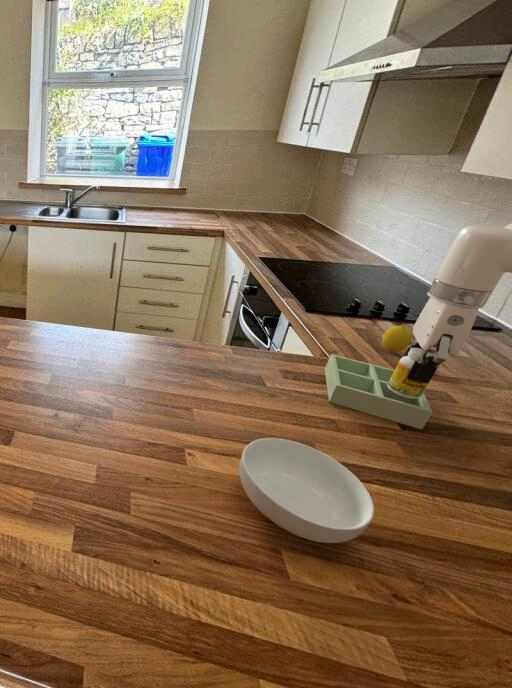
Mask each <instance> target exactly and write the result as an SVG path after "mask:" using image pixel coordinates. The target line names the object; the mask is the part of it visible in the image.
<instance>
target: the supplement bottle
mask: <svg viewBox="0 0 512 688" xmlns="http://www.w3.org/2000/svg"><path fill="white" fill-rule="evenodd" d="M410 348H411V349H410V351H409V353H408V356H404V355H403V356H404V357H403V356H402V357H401V358H400V359H399V361H398V363H397V364H396V367H395V369H394V370H395V371H394V372H393V374H392V376H391V378H390V380H389V382H388V384H387V386H388V388H389V389H390V390H391V391H392V392H394V393H396V394H398V395H400V396H403V397H406V398H412V399H415V398H419V397H421V395H422V394H423V393H424V392H425V391H426V389H427V388H428V385H429V383H422V382H418V381H414V380H410V379H408V378H407V375H408V373H409V371H410V369H411V367H412V366H413V364H414V362H415V361H418V359H419V357H420V354H421V352H422V349H420V348H412V347H410ZM433 355H434V353H429V352H428V353H427V356H426V357H428V356H433Z"/></svg>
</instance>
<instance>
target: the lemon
mask: <svg viewBox="0 0 512 688" xmlns="http://www.w3.org/2000/svg"><path fill="white" fill-rule="evenodd" d="M412 340H413V332H411V330H410V329H409V328H407V327H406V326H405V325H394V326H390V327H389V328H387V330H386V331H385V332H383V334H382V337H381V343H382V345H383V347H384V348H385V349H387V350H388V352H389V353H393V352H402V351H404V350H407V349H408V347H409V345H410V342H411V341H412Z"/></svg>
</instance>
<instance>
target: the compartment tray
mask: <svg viewBox="0 0 512 688" xmlns="http://www.w3.org/2000/svg"><path fill="white" fill-rule="evenodd" d="M394 371H395V369H393V368H388V367H385V366H381V365H376V364H373V363H369V362H365V361H360V360H356V359H353V358H349V357H346V356H345V357H344V356H341V355H336V354H333V353H330V356H329V358H328V360H327V363H326V365H325V367H324V375H325V383H326V389H327V390H326V391H327V397H328V402H329V403H332V404H335V405H339V406H341V407H345V408H348V409H351V410H355V411H358V412H362V413H365V414H369V415H372V416H375V417H379V418H382V419H384V420H388V421H392V422H395V423H398V424H401V425H406V426H408V427H412V428H415V429H418V430H423V429H424V427H425V425H426V424H427V422H428V421H429V419H430V418H431V416H432V415H433V413H434V412H433V410H432V408H431V405H430V403H429V402H428V399H427V397H426V395H425V393H424V392H423V394H422V395H421V397H419V398H415V399H412V398H406V397H403V396H400V395H398V394H396V393H394V392H392V391H391V390H390V389H389V388H388V386H387V384H388V382H389V380H390V378H391V376H392V374H393V372H394Z"/></svg>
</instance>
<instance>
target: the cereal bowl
mask: <svg viewBox="0 0 512 688" xmlns="http://www.w3.org/2000/svg"><path fill="white" fill-rule="evenodd" d="M238 467H239V470H238V473H239V479H240V481H241V482H240V484H241V485H242V488H243V490H244V492H245V494H246V495H247V498H248V499H249V500H250V502H251V503H252V504H253V505H254V506H255V507H256V508H257V509H258V511H260V513H261V514H263V516H264V517H266V518H267V519H268V520H269V521H271V522H272V523H274V524H275V525H277V526H278V527H280V528H281V529H283V530H284V531H286V532H288V533H291V534H293V535H295V536H297V537H300V538H302V539H306V540H308V541H312V542H317V543H323V544H324V543H325V544H340V543H345V542H348V541H351V540H353V539H355V538H357V537H359V536H360V535H361V534H363V533H364V532H365V531H366V530H367V528H368V527H369V526H370V524H371V523H372V521H373V519H374V515H375V506H374V502H373V499H372V496H371V495H370V493H369V491H368V490H367V488H366V487H365V485H364V484H363V483H362V482H361V481H360V479H359V478H358V477H357V476H356V475H355V474H354V473H353V472H352V471H351V470H349V469H348V468H347V467H346V466H345V465H344V464H342V463H341V462H339V461H338V460H336V459H334V458H333V457H331V456H329V455H328V454H326V453H324V452H322V451H321V450H318V449H316V448H314V447H311V446H309V445H307V444H304V443H301V442H297V441H294V440H290V439H285V438H277V437H264V438H259V439H258V438H257V439H255V440H253V441H251V442H249V444H247V445H246V446H245V447H244V449H243V451H242V453H241V457H240V461H239V466H238Z"/></svg>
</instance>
